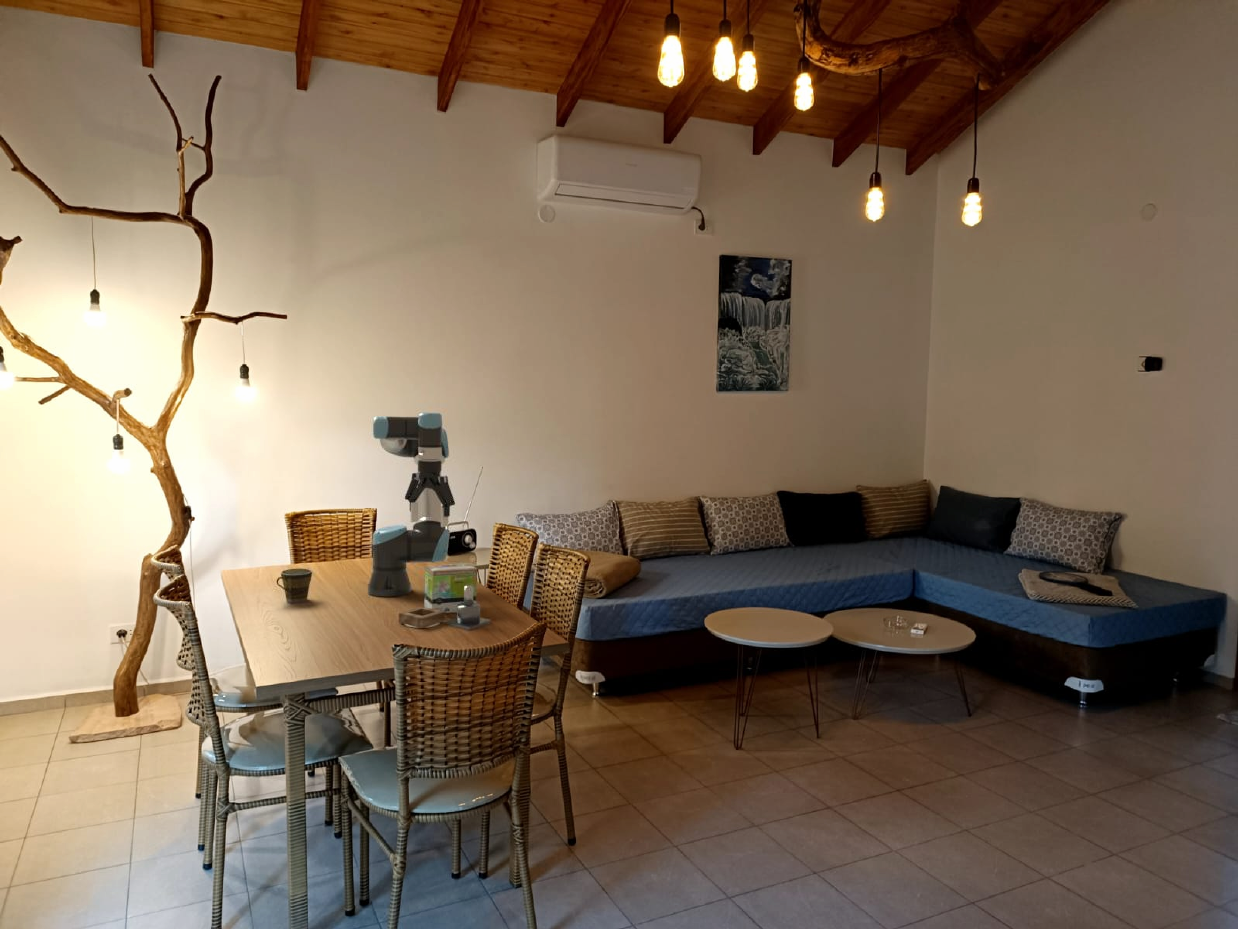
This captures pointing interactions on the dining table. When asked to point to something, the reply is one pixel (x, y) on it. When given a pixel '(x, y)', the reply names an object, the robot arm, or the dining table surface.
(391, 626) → the dining table surface
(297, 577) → the ceramic cup
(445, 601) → the tea box
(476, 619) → the peg stand
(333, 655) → the dining table surface
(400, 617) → the walnut link
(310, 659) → the dining table surface
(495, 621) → the dining table surface
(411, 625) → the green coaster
